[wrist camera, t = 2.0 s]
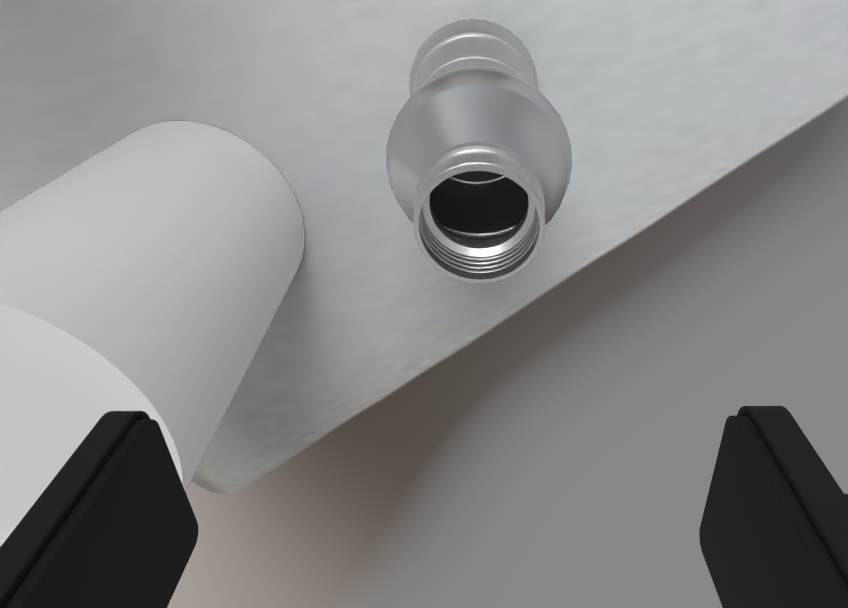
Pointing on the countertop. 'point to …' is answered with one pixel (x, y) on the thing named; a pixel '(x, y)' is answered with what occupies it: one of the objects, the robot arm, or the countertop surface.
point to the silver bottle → (477, 153)
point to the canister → (137, 296)
